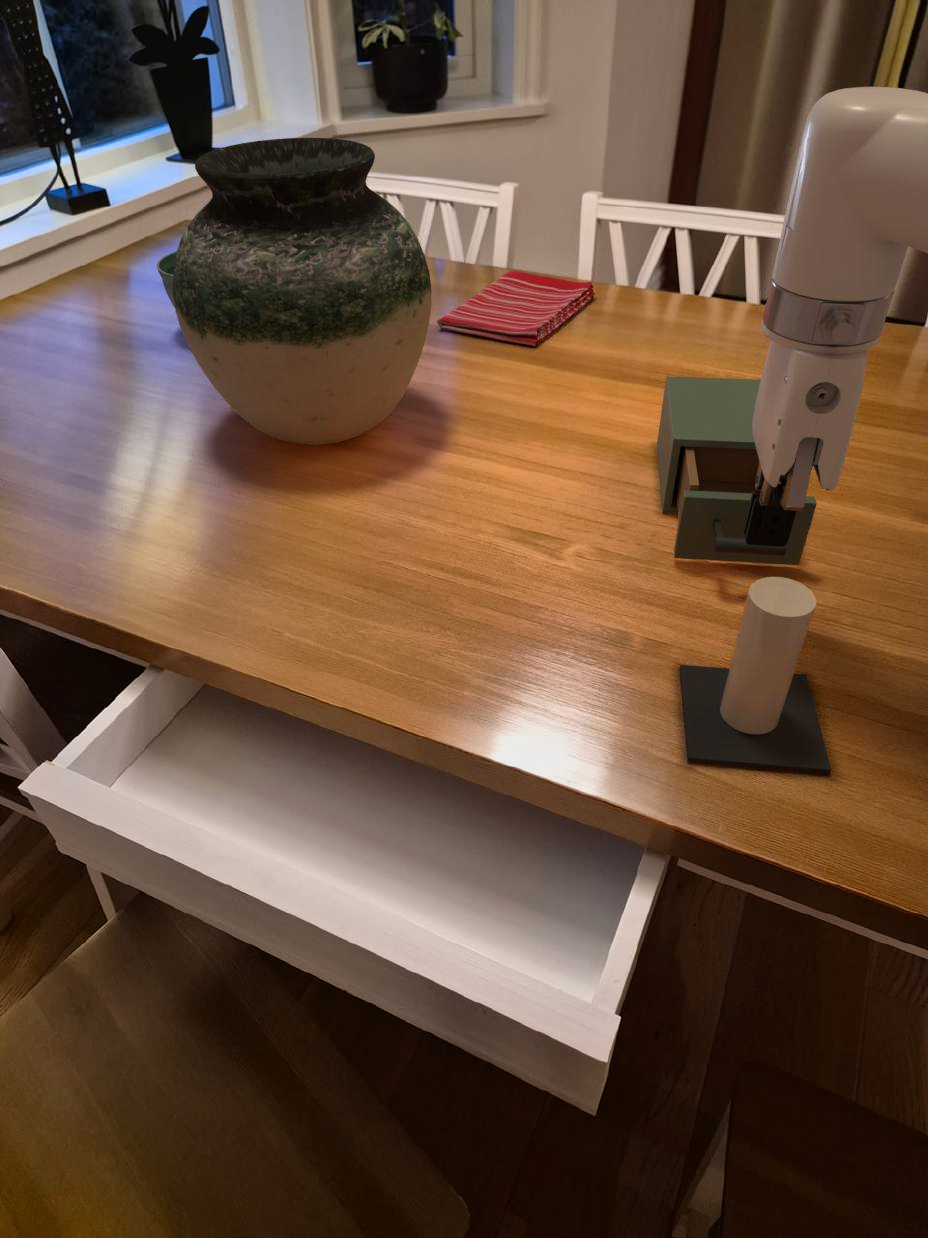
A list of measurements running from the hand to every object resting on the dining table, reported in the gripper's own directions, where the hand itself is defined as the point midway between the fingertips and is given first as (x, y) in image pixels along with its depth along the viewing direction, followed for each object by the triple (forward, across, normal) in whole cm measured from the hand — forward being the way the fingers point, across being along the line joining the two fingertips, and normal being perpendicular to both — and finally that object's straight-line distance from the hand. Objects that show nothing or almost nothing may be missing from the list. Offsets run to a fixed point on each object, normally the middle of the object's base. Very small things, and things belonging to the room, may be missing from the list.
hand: (764, 539), depth 67 cm
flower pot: (+10, +63, +70) cm, 94 cm away
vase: (+10, +34, +47) cm, 58 cm away
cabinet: (+9, +25, 0) cm, 26 cm away
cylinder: (+8, -11, +1) cm, 14 cm away
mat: (+9, -11, +1) cm, 14 cm away
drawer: (+8, +13, 0) cm, 15 cm away
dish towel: (+10, +74, +26) cm, 79 cm away
